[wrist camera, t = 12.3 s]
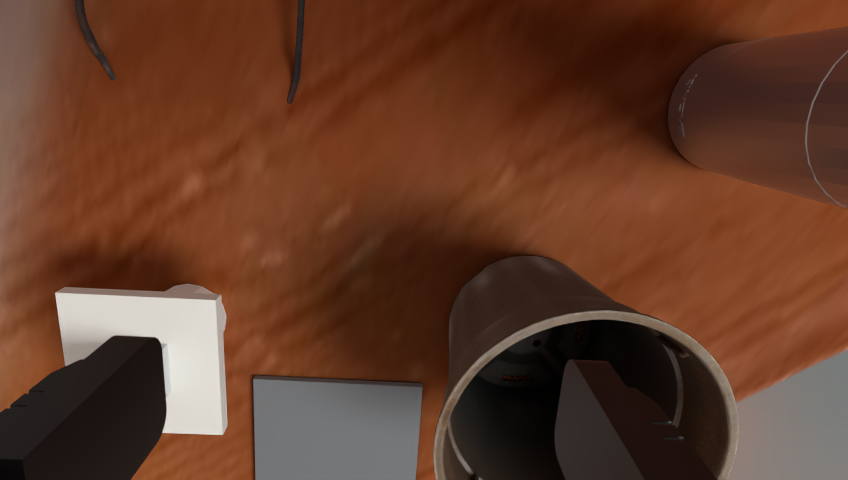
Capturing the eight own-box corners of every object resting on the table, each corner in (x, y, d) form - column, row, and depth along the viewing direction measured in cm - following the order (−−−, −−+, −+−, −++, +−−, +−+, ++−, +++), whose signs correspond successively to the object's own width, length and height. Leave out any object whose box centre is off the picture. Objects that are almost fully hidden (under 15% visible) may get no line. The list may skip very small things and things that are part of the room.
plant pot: (622, 217, 41) (751, 294, 25) (623, 398, 45) (733, 558, 30) (414, 240, 41) (416, 332, 25) (436, 418, 45) (449, 588, 30)
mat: (422, 383, 44) (422, 387, 44) (412, 518, 48) (412, 523, 48) (255, 375, 44) (253, 378, 43) (258, 512, 48) (256, 517, 47)
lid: (221, 294, 34) (174, 343, 28) (227, 426, 37) (186, 500, 30) (65, 286, 34) (-21, 335, 27) (83, 420, 37) (9, 494, 30)
